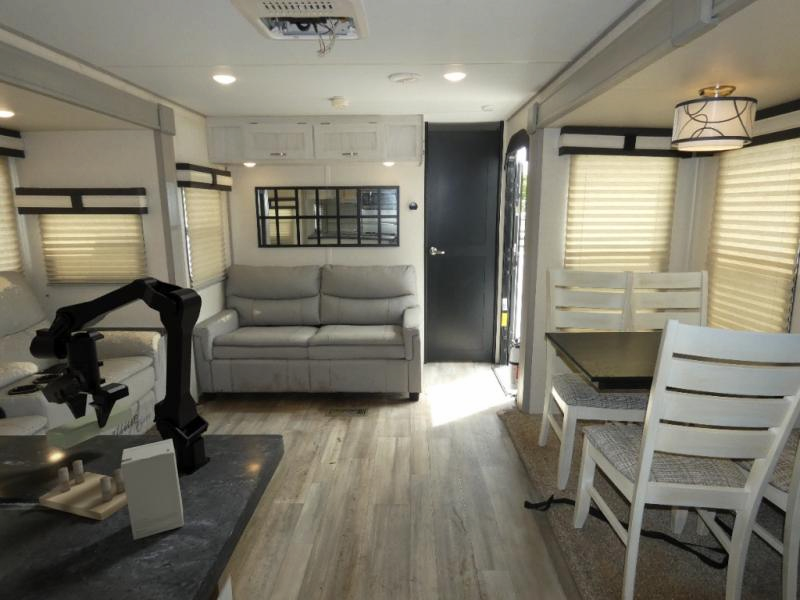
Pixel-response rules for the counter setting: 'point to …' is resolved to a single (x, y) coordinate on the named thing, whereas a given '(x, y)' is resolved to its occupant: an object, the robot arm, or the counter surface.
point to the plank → (86, 427)
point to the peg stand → (87, 493)
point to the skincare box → (152, 488)
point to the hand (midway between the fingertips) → (91, 425)
